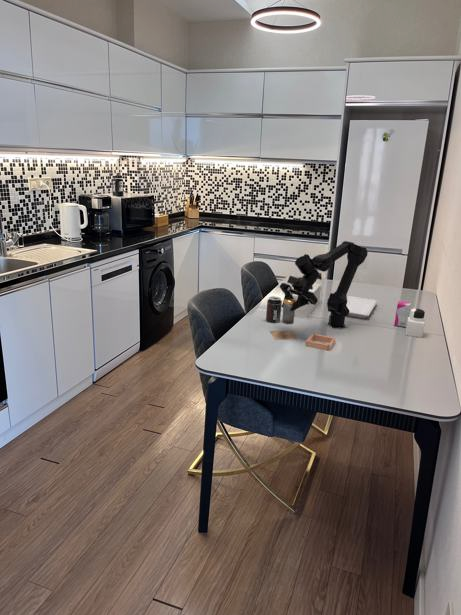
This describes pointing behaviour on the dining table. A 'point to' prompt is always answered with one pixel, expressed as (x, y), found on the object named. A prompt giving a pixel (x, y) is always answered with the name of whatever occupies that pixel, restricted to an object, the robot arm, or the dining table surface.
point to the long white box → (308, 308)
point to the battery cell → (288, 311)
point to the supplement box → (402, 314)
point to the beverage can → (273, 309)
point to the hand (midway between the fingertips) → (286, 308)
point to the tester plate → (283, 335)
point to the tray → (360, 306)
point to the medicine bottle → (415, 323)
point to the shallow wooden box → (320, 345)
